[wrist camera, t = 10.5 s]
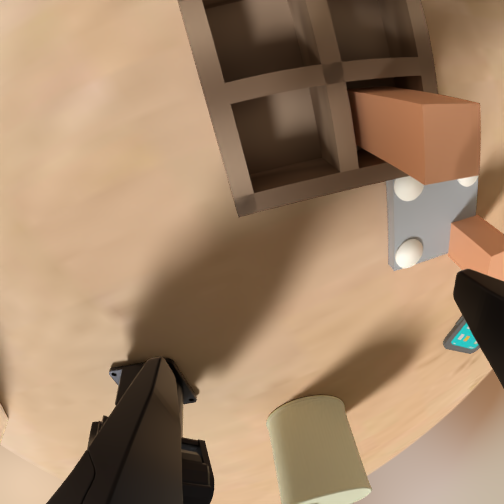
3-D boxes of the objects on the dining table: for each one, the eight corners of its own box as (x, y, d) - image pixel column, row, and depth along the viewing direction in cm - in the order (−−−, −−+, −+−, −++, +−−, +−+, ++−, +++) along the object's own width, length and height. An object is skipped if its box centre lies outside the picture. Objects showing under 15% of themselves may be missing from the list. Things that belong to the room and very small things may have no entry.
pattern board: (466, 240, 23) (509, 279, 18) (388, 266, 23) (426, 316, 18) (472, 148, 19) (528, 175, 14) (384, 164, 19) (437, 197, 14)
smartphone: (544, 259, 26) (474, 355, 32) (539, 255, 26) (471, 350, 33) (521, 234, 23) (440, 348, 29) (515, 229, 24) (436, 342, 30)
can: (281, 393, 30) (304, 501, 20) (357, 393, 32) (391, 484, 22) (256, 435, 34) (270, 523, 24) (324, 433, 36) (346, 512, 26)
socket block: (407, 151, 19) (442, 169, 15) (233, 190, 19) (238, 217, 16) (377, -20, 13) (410, -35, 9) (181, 3, 13) (173, -16, 10)
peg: (390, 134, 17) (479, 175, 10) (346, 140, 17) (424, 185, 10) (386, 86, 16) (480, 103, 9) (339, 89, 16) (422, 104, 9)
